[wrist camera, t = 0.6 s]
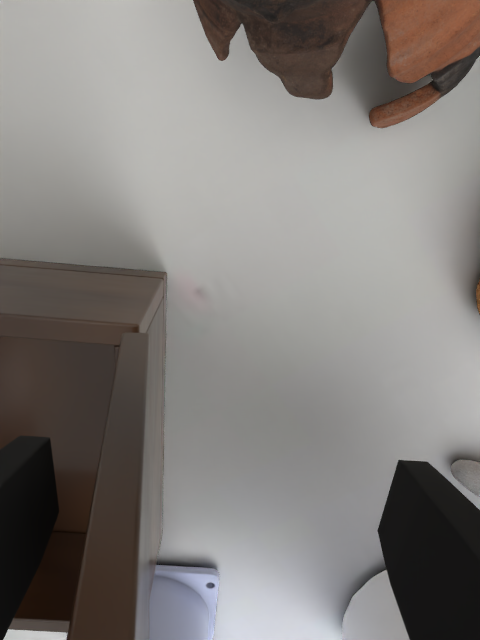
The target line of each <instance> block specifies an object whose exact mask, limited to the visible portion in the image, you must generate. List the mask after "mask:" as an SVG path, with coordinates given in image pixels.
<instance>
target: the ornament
mask: <svg viewBox="0 0 480 640" xmlns="http://www.w3.org/2000/svg"><path fill="white" fill-rule="evenodd" d="M476 298H477V307H478V311H479V314H480V280H479V282H478V284H477V290H476Z"/></svg>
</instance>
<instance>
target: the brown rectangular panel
mask: <svg viewBox="0 0 480 640" xmlns="http://www.w3.org/2000/svg"><path fill="white" fill-rule="evenodd" d="M149 530H150V335H149V334H148V333H123V334H122V336H121V341H120V346H119V352H118V357H117V363H116V368H115V374H114V379H113V385H112V391H111V396H110V402H109V407H108V413H107V418H106V424H105V429H104V435H103V440H102V446H101V452H100V457H99V463H98V468H97V474H96V479H95V485H94V490H93V496H92V501H91V507H90V512H89V518H88V524H87V529H86V535H85V540H84V546H83V551H82V557H81V562H80V568H79V573H78V579H77V584H76V590H75V596H74V601H73V607H72V612H71V618H70V623H69V629H68V634H67V640H149Z"/></svg>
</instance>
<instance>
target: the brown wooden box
mask: <svg viewBox="0 0 480 640" xmlns="http://www.w3.org/2000/svg"><path fill="white" fill-rule="evenodd" d="M166 298H167V273H166V272H155V271H143V270H131V269H120V268H108V267H96V266H84V265H72V264H60V263H49V262H37V261H25V260H13V259H1V258H0V449H2V448H3V447H5V446H6V445H7V444H9V443H10V442H11V441H13V440H14V439H16V438H17V437H19V436H20V435H21V436H36V437H50V440H51V448H52V456H53V464H54V472H55V480H56V488H57V496H58V505H59V514H58V517H57V519H56V522H55V525H54V528H53V531H52V534H51V537H50V539H49V542H48V545H47V547H46V550H45V553H44V555H43V558H42V561H41V563H40V565H39V567H38V569H37V571H36V574H35V576H34V578H33V580H32V582H31V584H30V586H29V588H28V590H27V592H26V594H25V596H24V598H23V600H22V602H21V604H20V606H19V608H18V610H17V612H16V614H15V616H14V618H13V620H12V622H11V624H10V626H9V628H8V629H13V630H32V631H50V632H68V629H69V623H70V618H71V612H72V607H73V601H74V596H75V590H76V584H77V579H78V573H79V568H80V562H81V557H82V551H83V546H84V540H85V535H86V529H87V524H88V518H89V512H90V507H91V501H92V496H93V490H94V485H95V479H96V474H97V468H98V463H99V457H100V452H101V446H102V440H103V435H104V429H105V424H106V418H107V413H108V407H109V402H110V396H111V391H112V385H113V379H114V374H115V368H116V363H117V357H118V352H119V346H120V341H121V336H122V334H123V333H148V334H149V335H150V530H149V600H150V594H151V589H152V584H153V579H154V574H155V569H156V564H157V559H158V553H159V548H160V544H161V539H162V516H163V461H164V407H165V353H166Z"/></svg>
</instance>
